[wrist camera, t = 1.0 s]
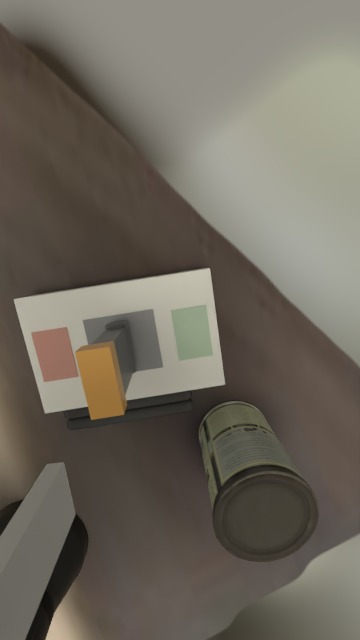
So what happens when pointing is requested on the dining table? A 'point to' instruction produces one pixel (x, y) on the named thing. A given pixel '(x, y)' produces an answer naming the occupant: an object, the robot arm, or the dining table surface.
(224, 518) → the coffee can
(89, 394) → the breaker lever
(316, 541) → the dining table surface
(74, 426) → the long thin dark rod
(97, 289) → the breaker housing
